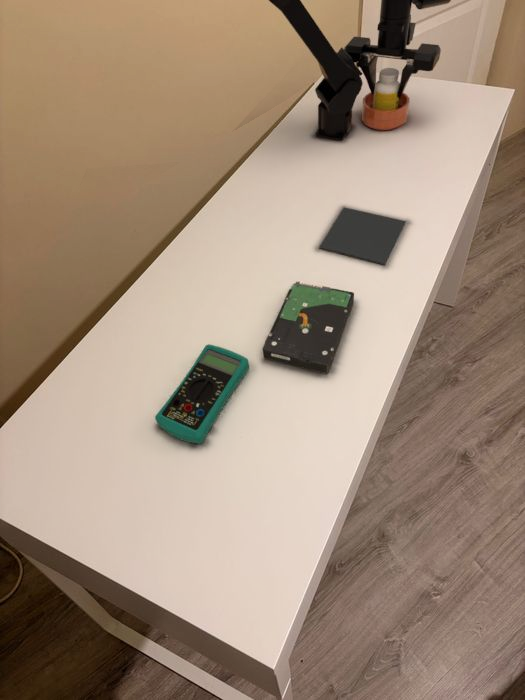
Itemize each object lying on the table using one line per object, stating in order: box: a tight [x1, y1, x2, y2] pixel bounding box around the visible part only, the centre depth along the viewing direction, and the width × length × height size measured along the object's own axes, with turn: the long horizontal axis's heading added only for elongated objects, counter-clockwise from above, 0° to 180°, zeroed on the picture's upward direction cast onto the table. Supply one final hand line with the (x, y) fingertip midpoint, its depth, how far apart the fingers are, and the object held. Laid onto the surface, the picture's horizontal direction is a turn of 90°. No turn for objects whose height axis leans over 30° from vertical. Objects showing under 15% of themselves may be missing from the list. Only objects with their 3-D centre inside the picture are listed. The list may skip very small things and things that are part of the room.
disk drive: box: [262, 281, 355, 375], centre depth 76 cm, size 10×3×15 cm
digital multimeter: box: [154, 344, 250, 445], centre depth 70 cm, size 7×15×3 cm, turn 152°
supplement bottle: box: [373, 67, 400, 111], centre depth 108 cm, size 5×5×10 cm
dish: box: [361, 91, 410, 131], centre depth 110 cm, size 10×10×4 cm
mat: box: [318, 206, 406, 266], centre depth 89 cm, size 12×12×1 cm
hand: (386, 95), depth 108 cm, fingers open, 6 cm apart
